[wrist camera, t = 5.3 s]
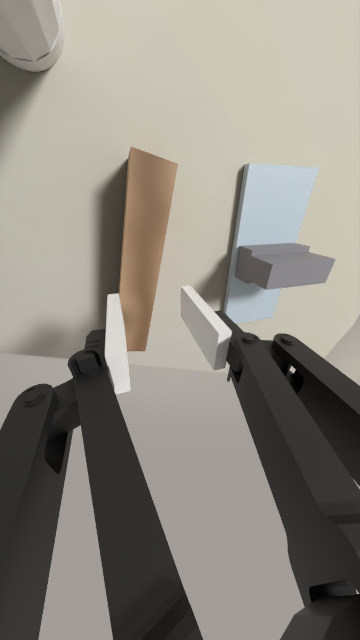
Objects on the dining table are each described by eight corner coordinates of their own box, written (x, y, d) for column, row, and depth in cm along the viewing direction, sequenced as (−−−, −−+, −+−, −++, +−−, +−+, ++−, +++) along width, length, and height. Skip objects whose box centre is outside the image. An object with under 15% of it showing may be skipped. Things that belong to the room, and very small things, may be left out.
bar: (115, 330, 29) (115, 351, 25) (127, 158, 19) (130, 146, 15) (141, 331, 30) (145, 351, 26) (165, 171, 20) (177, 163, 16)
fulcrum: (221, 322, 33) (246, 351, 27) (244, 164, 22) (298, 148, 15) (268, 315, 36) (302, 339, 29) (312, 168, 24) (384, 156, 18)
